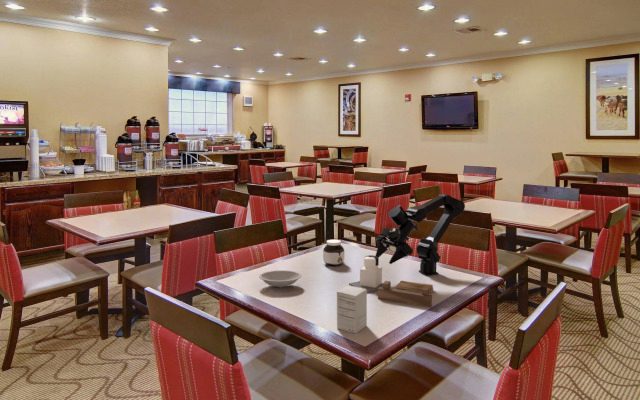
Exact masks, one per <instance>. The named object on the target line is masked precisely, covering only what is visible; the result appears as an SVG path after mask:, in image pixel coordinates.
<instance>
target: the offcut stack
mask: <svg viewBox="0 0 640 400" xmlns="http://www.w3.org/2000/svg"><path fill="white" fill-rule="evenodd" d="M424 286H425V287H430V293H429V294H432V293H433V291H434V284H432V283H431V284H430V283H424V282H423V283H422V282H415V281H406V280H400V282H398V284H396V289H398V290H404V291H410V292H417V293H422V289H423V287H424Z"/></svg>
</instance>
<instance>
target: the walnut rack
mask: <svg viewBox="0 0 640 400" xmlns="http://www.w3.org/2000/svg"><path fill="white" fill-rule="evenodd" d="M382 283H383V287H379V288H378V291H377V299H379V300H384V301H390V302H396V303H403V304H409V305H414V306H419V307H424V308H425V307H426V308H431V307H432V306H433V295H432V294H431V293H430V287H425V286H424V287H423V289H422V292H416V291H409V290H403V289H397V288H396V289H395V288H391V287H392V286H391V284H392V283H391V281H390V280H385V281H383V282H382Z"/></svg>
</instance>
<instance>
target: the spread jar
mask: <svg viewBox="0 0 640 400" xmlns="http://www.w3.org/2000/svg"><path fill="white" fill-rule="evenodd" d="M341 244H342V241H341V240H340V239H327V240H326V245H324V247H323V250H322V259H323V262H324V264H325V265H327V266H329V267H340V266H341V265H342V264H343V263H344V261H345V248H344V247H343V246H342V245H341Z"/></svg>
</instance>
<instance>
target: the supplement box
mask: <svg viewBox="0 0 640 400" xmlns="http://www.w3.org/2000/svg"><path fill="white" fill-rule="evenodd" d="M367 296H368V293H367V289H363V288H359V287H354V286H350V285H349V284H347V285H346V286H344V287H343V288H341V289H339V290H337V291H336V328H337V329H339V330H341V331H345V332H349V333H351V334H358V333H359V332H360V331H362V330H363V329H364V328H366V327H367V325H368V322H367V320H368V319H367V317H368V314H367V313H368V311H367V306H368V303H367V299H368V298H367Z"/></svg>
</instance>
